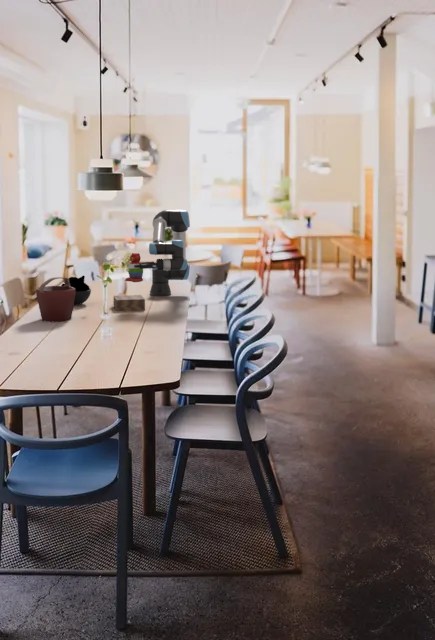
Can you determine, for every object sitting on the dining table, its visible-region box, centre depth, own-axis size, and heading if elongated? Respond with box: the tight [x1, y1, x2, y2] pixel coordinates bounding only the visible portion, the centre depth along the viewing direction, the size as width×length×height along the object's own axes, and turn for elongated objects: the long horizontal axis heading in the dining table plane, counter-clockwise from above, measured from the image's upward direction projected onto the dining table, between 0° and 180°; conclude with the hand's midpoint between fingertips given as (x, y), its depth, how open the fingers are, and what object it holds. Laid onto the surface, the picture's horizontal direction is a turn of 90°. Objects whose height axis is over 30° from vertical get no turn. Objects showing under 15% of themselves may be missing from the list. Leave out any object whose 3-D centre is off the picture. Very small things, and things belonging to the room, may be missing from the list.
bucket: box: [35, 276, 76, 323], centre depth 466 cm, size 24×22×25 cm
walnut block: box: [113, 294, 146, 312], centre depth 508 cm, size 18×18×7 cm
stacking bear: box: [124, 252, 144, 283], centre depth 503 cm, size 11×10×18 cm
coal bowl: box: [60, 275, 92, 306], centre depth 519 cm, size 20×20×19 cm
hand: (127, 265), depth 502 cm, fingers closed on stacking bear, 9 cm apart
